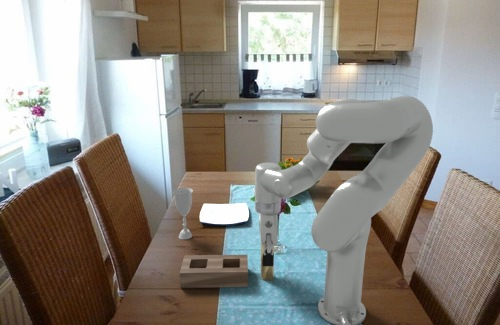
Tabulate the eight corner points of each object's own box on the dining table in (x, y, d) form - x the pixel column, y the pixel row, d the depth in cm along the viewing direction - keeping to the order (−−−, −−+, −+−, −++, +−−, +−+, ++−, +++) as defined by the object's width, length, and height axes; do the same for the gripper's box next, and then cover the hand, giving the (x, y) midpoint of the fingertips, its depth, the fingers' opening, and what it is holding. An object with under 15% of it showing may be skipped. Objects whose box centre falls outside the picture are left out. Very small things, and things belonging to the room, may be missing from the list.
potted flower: (259, 186, 201) (259, 153, 196) (299, 179, 211) (300, 147, 206) (284, 203, 180) (284, 166, 175) (327, 195, 189) (329, 159, 184)
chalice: (186, 230, 154) (184, 186, 149) (198, 235, 150) (196, 190, 145) (171, 237, 148) (168, 192, 143) (184, 242, 144) (181, 196, 139)
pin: (274, 280, 121) (274, 245, 117) (261, 280, 121) (261, 245, 117) (273, 273, 125) (273, 238, 121) (260, 273, 125) (260, 239, 121)
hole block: (248, 286, 118) (247, 271, 116) (180, 287, 118) (179, 272, 116) (247, 268, 127) (247, 254, 126) (185, 269, 127) (184, 255, 126)
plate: (197, 229, 156) (197, 222, 155) (202, 208, 175) (201, 202, 174) (249, 228, 156) (249, 221, 155) (248, 207, 176) (248, 202, 175)
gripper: (283, 217, 108) (282, 273, 113) (278, 194, 124) (276, 244, 129) (256, 217, 108) (255, 274, 113) (254, 194, 124) (253, 244, 129)
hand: (267, 257), depth 121 cm, fingers open, 8 cm apart
